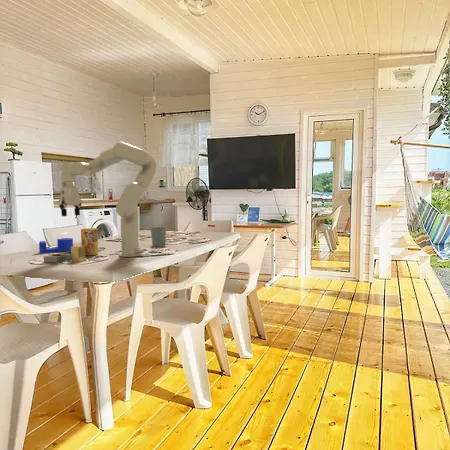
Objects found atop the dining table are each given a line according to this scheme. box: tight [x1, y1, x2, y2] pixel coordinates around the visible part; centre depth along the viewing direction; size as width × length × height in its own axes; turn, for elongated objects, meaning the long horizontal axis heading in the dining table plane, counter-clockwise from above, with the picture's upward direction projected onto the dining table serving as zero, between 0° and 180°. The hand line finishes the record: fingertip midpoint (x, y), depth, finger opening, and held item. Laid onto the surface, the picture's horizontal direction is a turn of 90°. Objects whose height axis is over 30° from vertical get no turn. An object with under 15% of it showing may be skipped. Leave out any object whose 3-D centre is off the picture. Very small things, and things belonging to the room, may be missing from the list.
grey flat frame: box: [43, 251, 72, 264], centre depth 219 cm, size 20×9×3 cm, turn 158°
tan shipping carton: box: [71, 244, 85, 263], centre depth 213 cm, size 5×4×8 cm
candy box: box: [80, 227, 99, 256], centre depth 235 cm, size 9×4×15 cm, turn 104°
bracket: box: [38, 237, 74, 255], centre depth 251 cm, size 20×9×8 cm, turn 134°
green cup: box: [150, 226, 167, 247], centre depth 270 cm, size 10×10×12 cm
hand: (70, 215), depth 228 cm, fingers open, 9 cm apart
